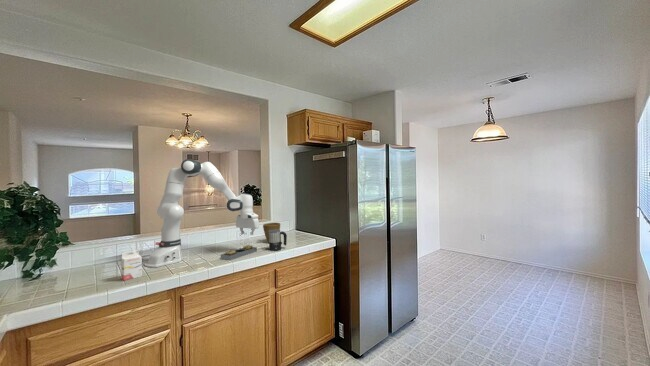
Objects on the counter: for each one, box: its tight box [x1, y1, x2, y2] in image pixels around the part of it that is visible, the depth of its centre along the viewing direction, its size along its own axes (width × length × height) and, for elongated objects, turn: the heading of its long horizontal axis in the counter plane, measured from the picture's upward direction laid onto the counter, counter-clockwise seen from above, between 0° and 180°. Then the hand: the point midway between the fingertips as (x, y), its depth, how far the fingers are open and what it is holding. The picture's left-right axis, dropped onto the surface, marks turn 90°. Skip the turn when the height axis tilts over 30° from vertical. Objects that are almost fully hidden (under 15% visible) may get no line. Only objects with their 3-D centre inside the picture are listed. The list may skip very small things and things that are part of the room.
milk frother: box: [268, 229, 288, 252], centre depth 207 cm, size 14×16×15 cm
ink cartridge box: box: [120, 249, 143, 281], centre depth 149 cm, size 9×5×15 cm, turn 141°
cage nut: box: [242, 244, 253, 250], centre depth 196 cm, size 5×5×5 cm
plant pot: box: [262, 222, 281, 244], centre depth 228 cm, size 15×15×16 cm
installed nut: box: [224, 249, 236, 255], centre depth 182 cm, size 5×5×5 cm
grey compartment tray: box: [220, 246, 258, 261], centre depth 189 cm, size 25×9×4 cm, turn 151°
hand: (247, 234), depth 195 cm, fingers open, 8 cm apart
